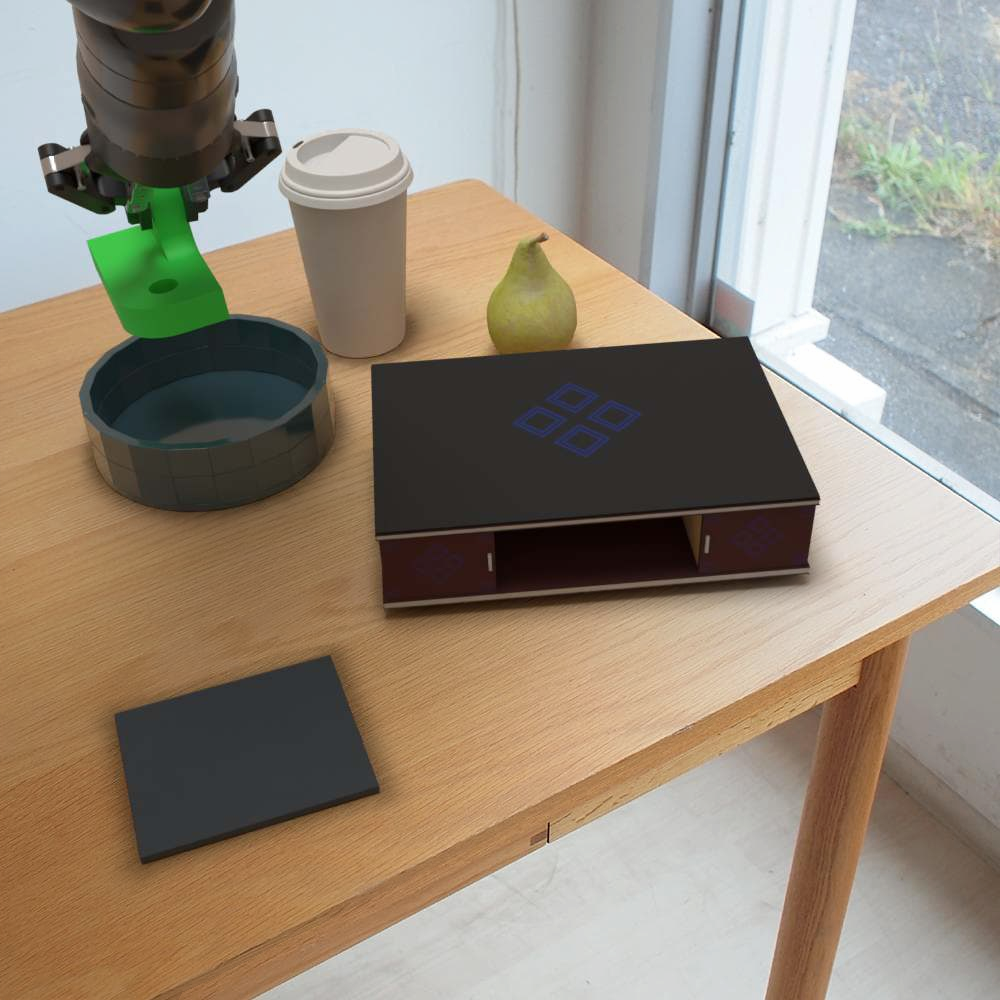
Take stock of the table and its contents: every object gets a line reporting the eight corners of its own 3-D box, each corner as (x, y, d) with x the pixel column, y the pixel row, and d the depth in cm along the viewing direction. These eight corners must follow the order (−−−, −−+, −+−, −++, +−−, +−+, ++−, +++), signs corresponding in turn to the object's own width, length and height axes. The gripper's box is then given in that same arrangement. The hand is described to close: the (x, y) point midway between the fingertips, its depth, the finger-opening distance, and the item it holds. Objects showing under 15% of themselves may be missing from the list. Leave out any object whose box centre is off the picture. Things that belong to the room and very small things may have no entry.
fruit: (561, 325, 102) (561, 180, 94) (593, 376, 96) (595, 226, 89) (477, 339, 101) (470, 194, 93) (504, 392, 95) (499, 241, 87)
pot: (112, 536, 84) (95, 474, 80) (84, 401, 96) (67, 342, 93) (362, 476, 88) (355, 414, 85) (304, 353, 100) (296, 295, 97)
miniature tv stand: (807, 584, 78) (821, 496, 74) (385, 620, 77) (374, 533, 73) (740, 417, 92) (748, 335, 87) (379, 445, 90) (370, 363, 86)
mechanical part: (95, 267, 87) (56, 153, 82) (183, 241, 88) (151, 127, 83) (132, 348, 78) (92, 225, 73) (230, 318, 79) (196, 195, 75)
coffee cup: (368, 291, 107) (350, 112, 98) (450, 332, 102) (439, 147, 92) (275, 338, 102) (246, 154, 92) (357, 384, 96) (335, 194, 87)
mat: (142, 864, 64) (140, 858, 64) (115, 719, 71) (113, 713, 71) (380, 792, 67) (379, 785, 67) (331, 660, 74) (330, 654, 74)
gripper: (277, -5, 68) (260, 136, 84) (-4, 33, 64) (37, 173, 81) (314, 132, 67) (289, 247, 83) (32, 179, 63) (65, 289, 80)
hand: (165, 210), depth 82 cm, fingers closed on mechanical part
